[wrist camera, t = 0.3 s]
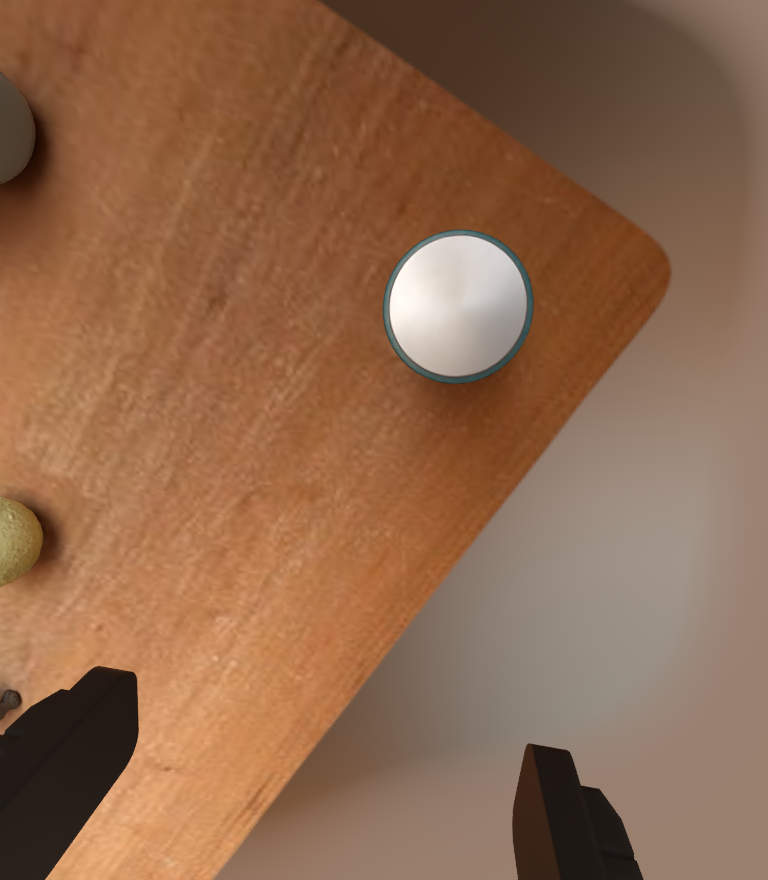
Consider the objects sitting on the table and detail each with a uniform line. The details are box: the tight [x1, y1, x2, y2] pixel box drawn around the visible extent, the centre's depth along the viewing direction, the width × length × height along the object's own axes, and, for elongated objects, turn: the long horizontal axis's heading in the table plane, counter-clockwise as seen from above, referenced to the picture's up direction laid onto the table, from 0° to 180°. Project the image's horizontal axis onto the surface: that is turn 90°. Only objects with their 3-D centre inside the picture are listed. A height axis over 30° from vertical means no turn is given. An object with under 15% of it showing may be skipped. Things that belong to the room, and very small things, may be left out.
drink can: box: [383, 230, 533, 384], centre depth 24 cm, size 6×6×12 cm
